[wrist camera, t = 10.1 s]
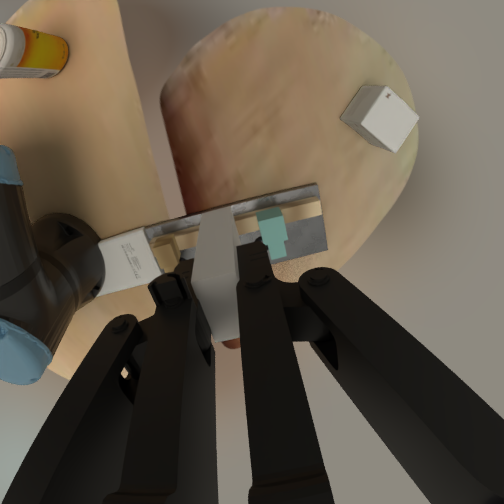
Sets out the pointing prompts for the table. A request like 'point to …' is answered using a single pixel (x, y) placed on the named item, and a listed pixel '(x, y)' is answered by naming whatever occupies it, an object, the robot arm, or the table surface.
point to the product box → (380, 117)
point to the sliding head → (273, 231)
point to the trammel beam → (172, 243)
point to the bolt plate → (298, 232)
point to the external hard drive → (128, 261)
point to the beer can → (30, 53)
